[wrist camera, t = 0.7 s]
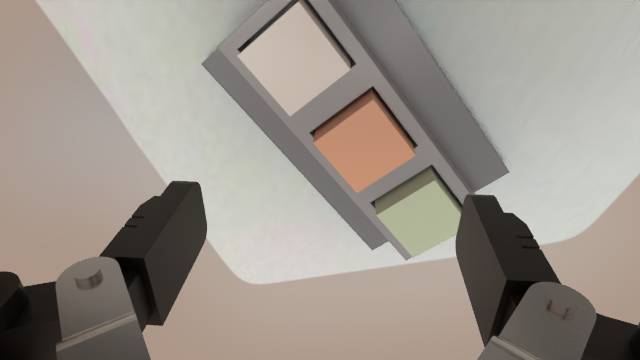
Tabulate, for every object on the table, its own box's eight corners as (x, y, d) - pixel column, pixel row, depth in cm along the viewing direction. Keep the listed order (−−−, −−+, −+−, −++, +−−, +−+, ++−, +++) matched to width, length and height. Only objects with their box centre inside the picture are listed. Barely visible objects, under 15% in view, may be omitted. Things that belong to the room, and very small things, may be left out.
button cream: (302, -4, 28) (298, 1, 26) (350, 59, 30) (350, 69, 28) (246, 46, 30) (237, 56, 28) (294, 102, 32) (290, 116, 30)
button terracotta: (371, 86, 31) (373, 99, 29) (410, 138, 33) (416, 155, 31) (315, 127, 33) (313, 143, 30) (356, 174, 35) (356, 193, 32)
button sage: (428, 162, 34) (434, 180, 31) (461, 206, 36) (470, 226, 33) (374, 195, 36) (376, 215, 33) (408, 236, 38) (413, 257, 35)
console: (347, -70, 30) (347, -74, 25) (502, 162, 39) (526, 195, 34) (208, 58, 36) (184, 77, 30) (371, 238, 44) (374, 277, 39)
